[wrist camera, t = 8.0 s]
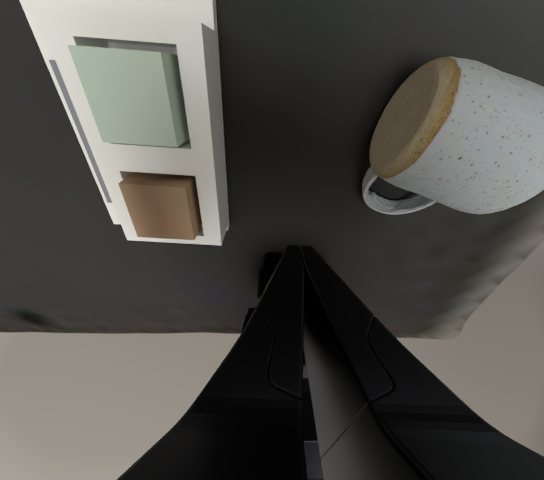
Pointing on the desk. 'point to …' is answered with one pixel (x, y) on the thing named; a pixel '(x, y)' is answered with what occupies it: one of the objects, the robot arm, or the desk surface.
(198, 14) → the key panel
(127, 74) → the sage key
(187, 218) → the walnut key
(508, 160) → the ceramic mug
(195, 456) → the robot arm
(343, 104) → the desk surface
